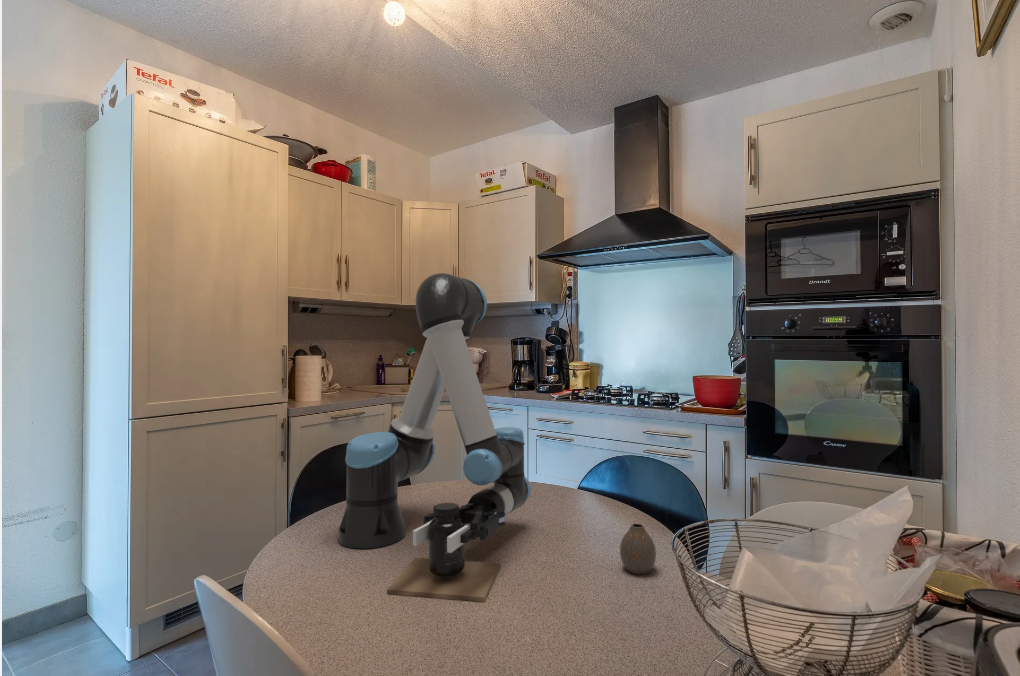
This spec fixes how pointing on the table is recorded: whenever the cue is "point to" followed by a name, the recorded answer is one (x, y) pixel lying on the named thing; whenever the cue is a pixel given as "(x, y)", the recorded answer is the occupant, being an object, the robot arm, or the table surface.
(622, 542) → the vase
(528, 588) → the table surface
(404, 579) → the board
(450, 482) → the table surface
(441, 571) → the supplement bottle
